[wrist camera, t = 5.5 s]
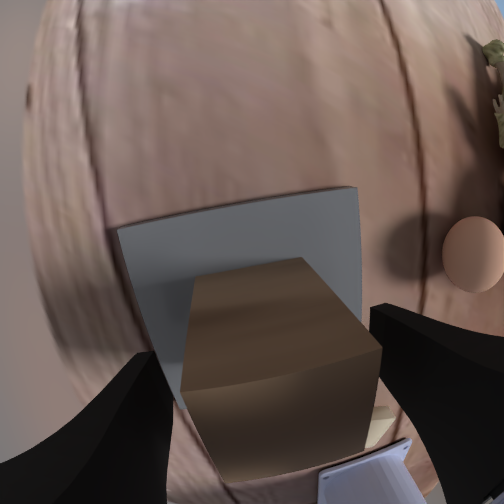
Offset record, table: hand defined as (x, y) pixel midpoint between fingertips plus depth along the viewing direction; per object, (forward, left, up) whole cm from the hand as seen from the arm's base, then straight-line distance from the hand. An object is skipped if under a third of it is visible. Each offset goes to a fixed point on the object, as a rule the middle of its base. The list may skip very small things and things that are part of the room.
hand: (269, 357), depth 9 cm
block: (0, 0, -3) cm, 3 cm away
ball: (+1, -10, -3) cm, 11 cm away
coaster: (0, 0, -3) cm, 3 cm away
